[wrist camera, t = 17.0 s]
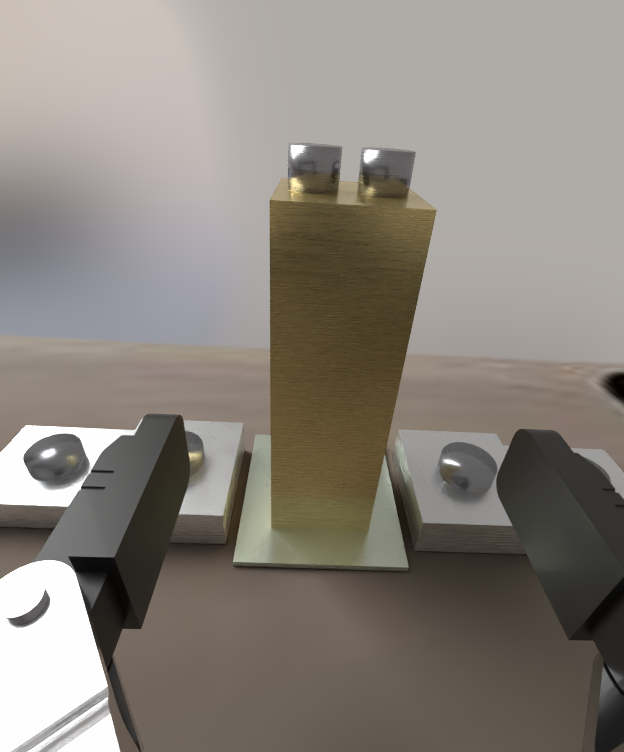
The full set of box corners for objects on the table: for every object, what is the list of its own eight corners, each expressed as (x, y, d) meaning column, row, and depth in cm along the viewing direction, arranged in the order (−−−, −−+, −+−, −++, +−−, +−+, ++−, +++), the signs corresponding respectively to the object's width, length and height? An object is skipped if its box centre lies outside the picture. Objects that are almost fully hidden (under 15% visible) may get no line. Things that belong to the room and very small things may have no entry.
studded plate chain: (-55, 556, 17) (-88, 513, 15) (50, 429, 23) (34, 391, 22) (677, 580, 18) (716, 541, 16) (576, 451, 24) (597, 415, 23)
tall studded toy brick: (270, 527, 18) (269, 148, 10) (278, 457, 22) (282, 139, 14) (368, 531, 18) (447, 159, 10) (359, 460, 22) (411, 147, 14)
